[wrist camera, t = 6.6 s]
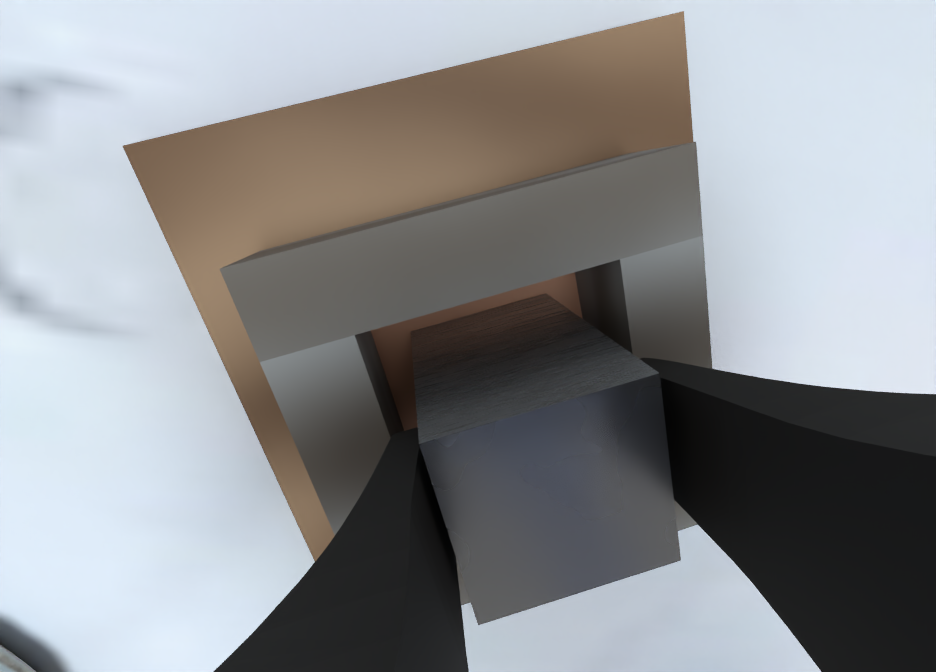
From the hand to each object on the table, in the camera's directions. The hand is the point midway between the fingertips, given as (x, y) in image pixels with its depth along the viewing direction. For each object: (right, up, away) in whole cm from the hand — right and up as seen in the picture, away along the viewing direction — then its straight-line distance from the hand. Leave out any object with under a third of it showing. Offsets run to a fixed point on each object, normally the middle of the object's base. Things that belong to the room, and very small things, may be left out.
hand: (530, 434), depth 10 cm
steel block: (-1, +1, +4) cm, 4 cm away
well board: (-1, +1, +4) cm, 5 cm away
